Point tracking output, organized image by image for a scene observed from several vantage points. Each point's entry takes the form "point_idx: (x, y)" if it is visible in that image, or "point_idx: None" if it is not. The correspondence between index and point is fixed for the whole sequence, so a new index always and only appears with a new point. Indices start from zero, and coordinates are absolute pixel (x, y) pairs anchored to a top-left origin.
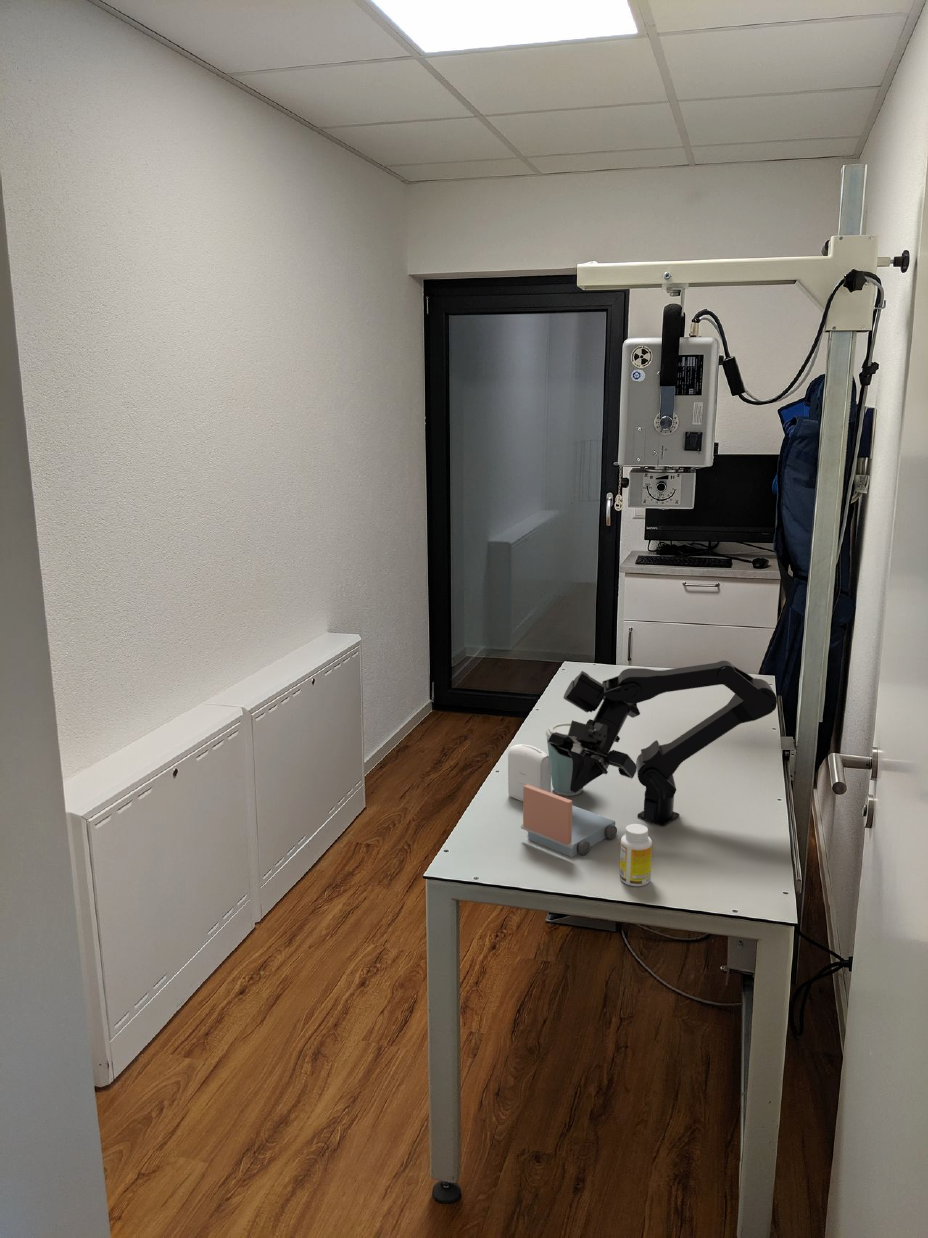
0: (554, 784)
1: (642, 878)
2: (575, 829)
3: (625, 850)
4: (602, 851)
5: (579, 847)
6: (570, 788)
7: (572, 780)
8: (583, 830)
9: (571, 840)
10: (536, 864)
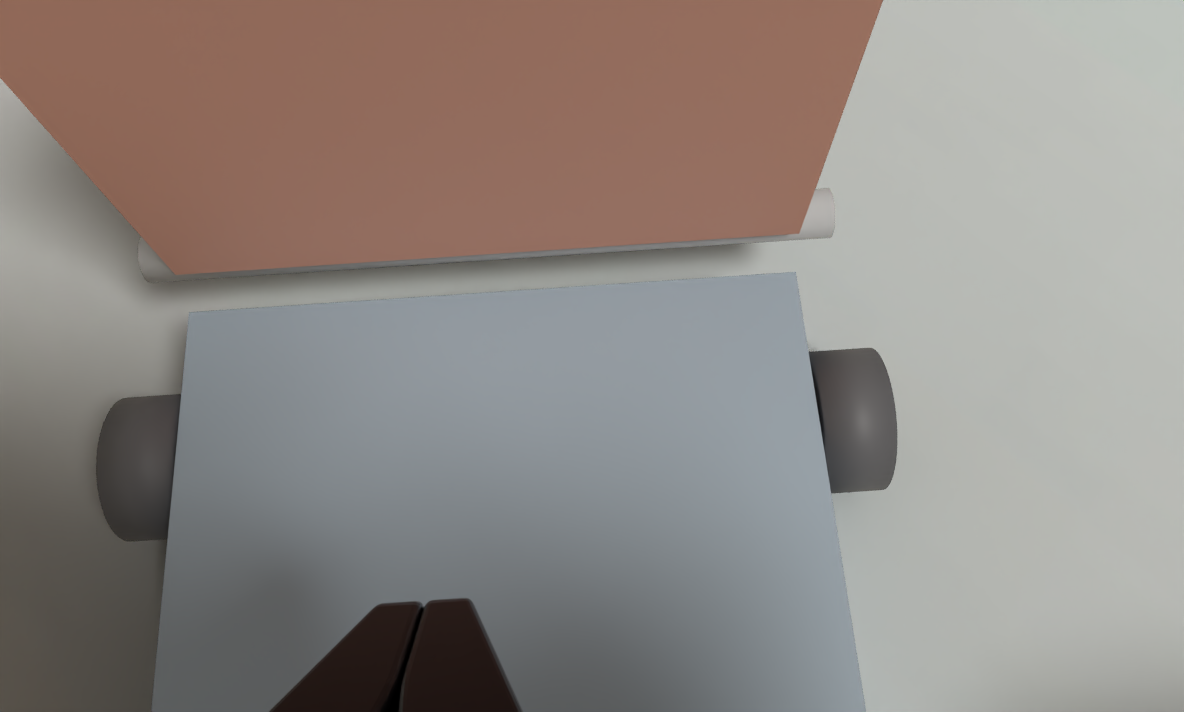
0: None
1: None
2: None
3: None
4: (63, 675)
5: (162, 396)
6: (462, 603)
7: (475, 709)
8: (296, 672)
9: (165, 263)
10: None
